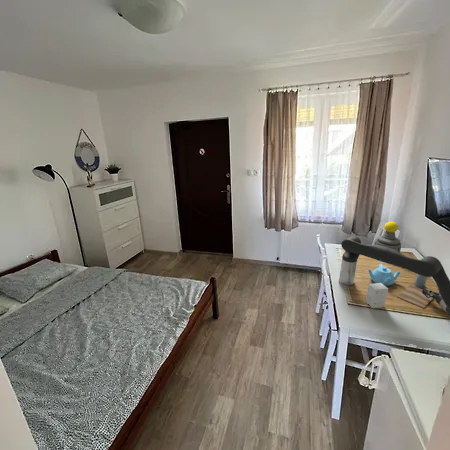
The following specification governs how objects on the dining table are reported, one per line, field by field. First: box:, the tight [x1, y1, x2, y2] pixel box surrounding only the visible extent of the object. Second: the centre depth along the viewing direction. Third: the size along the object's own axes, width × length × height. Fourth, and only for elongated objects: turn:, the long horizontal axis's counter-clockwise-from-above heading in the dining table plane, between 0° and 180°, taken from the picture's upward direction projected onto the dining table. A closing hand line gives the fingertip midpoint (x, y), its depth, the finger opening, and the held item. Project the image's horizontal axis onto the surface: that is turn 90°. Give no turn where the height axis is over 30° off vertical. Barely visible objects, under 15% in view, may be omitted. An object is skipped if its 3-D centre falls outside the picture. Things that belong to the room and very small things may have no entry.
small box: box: [365, 282, 389, 309], centre depth 147 cm, size 8×6×13 cm
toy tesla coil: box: [374, 221, 402, 253], centre depth 204 cm, size 19×19×30 cm
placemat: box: [396, 284, 434, 309], centre depth 155 cm, size 20×14×1 cm
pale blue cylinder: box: [413, 274, 428, 289], centre depth 164 cm, size 6×6×11 cm
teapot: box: [367, 263, 401, 287], centre depth 171 cm, size 15×15×11 cm
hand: (431, 287), depth 153 cm, fingers open, 8 cm apart
